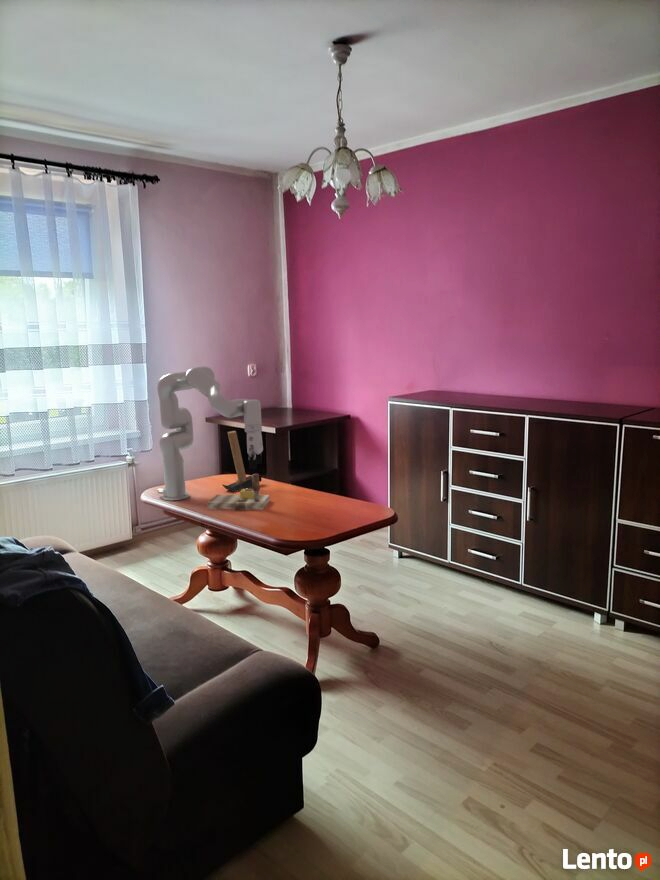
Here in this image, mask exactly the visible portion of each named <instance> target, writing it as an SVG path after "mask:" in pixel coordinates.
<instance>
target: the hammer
mask: <svg viewBox="0 0 660 880" xmlns="http://www.w3.org/2000/svg"><path fill="white" fill-rule="evenodd" d="M227 436H228V441H229V444H230V449H231V454H232V458H233V464H234V467H235V471H236V476H237V480H236V481H235V482H233V483H230V484H226V485H225V484H221V485H222V487H223V488H224V489H226V490H228V491H230V492H234V491H235V492H238V491H237V490H240V491H241V489H246V488H248V489H251V488H253V483H252V475H248V476H247V475H246V472H245V471H246V469H245V466H244V461H243V457H242V453H241V452H242V451H241V447H240V444H239V439H238V434H237V431H236V430H232V431H231V430H230V431H227ZM261 482H262V476H261V475H260V474H259V483H261ZM250 487H251V488H250Z"/></svg>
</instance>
